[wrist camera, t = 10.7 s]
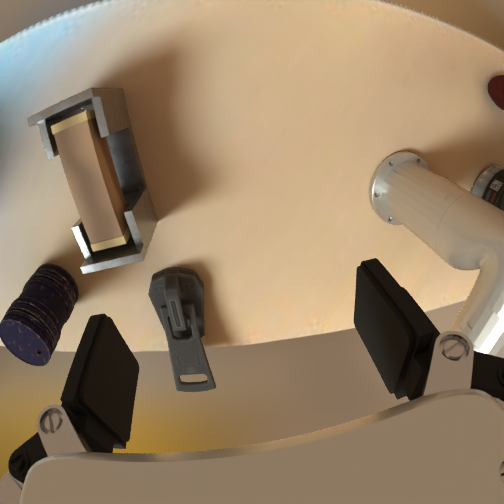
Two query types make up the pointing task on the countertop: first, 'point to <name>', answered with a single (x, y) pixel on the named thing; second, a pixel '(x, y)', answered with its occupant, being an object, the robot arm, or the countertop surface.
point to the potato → (497, 90)
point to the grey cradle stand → (126, 165)
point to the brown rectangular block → (92, 180)
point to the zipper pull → (182, 324)
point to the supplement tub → (491, 186)
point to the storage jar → (39, 315)
